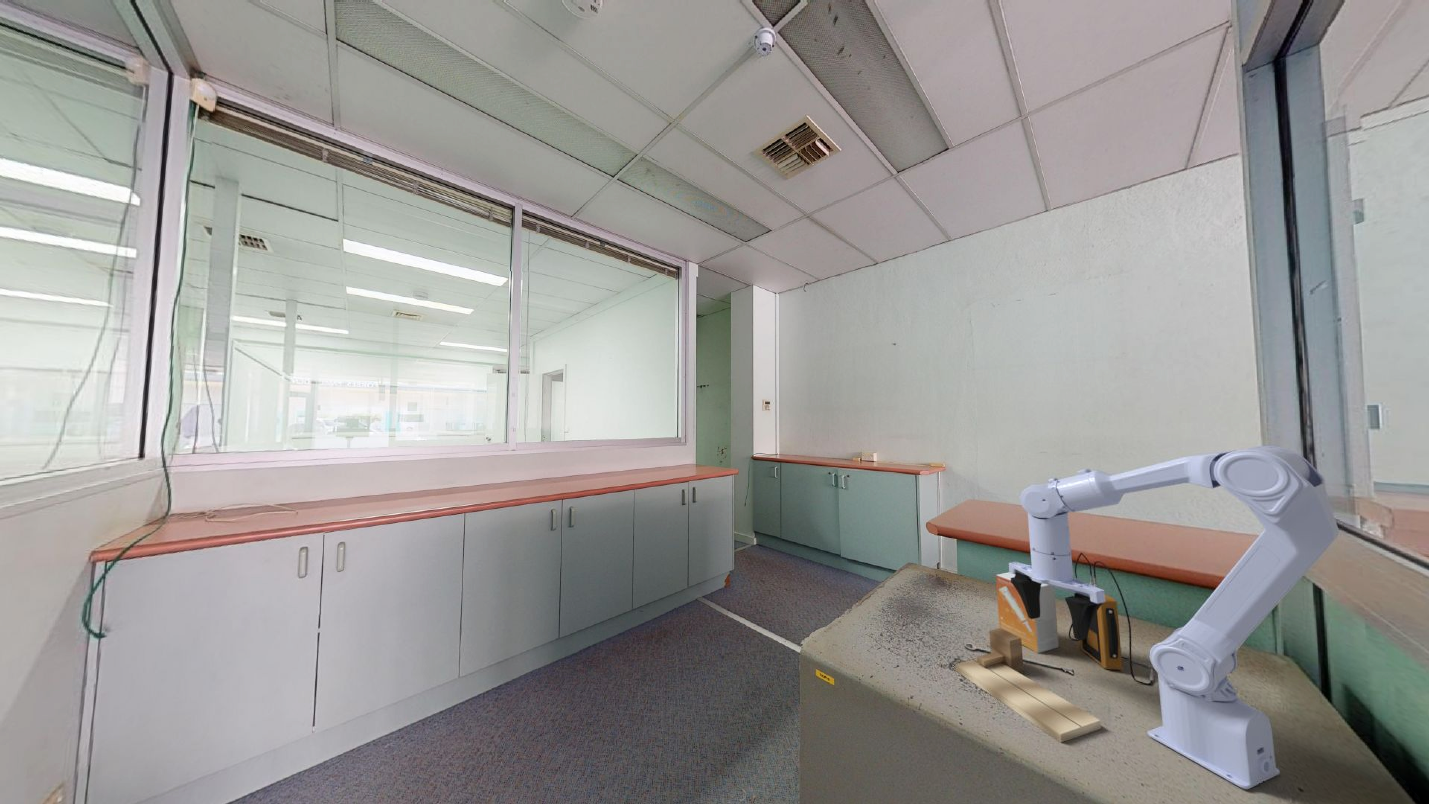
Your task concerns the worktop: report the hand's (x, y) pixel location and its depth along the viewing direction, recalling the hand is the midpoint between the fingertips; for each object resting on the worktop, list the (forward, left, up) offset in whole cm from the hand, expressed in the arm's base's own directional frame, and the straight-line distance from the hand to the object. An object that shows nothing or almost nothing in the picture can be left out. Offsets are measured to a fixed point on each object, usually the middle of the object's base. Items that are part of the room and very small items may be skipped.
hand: (1056, 627), depth 71 cm
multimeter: (+1, -18, -10) cm, 21 cm away
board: (0, +10, -10) cm, 14 cm away
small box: (+12, -9, -10) cm, 18 cm away
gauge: (+7, +6, -10) cm, 14 cm away
